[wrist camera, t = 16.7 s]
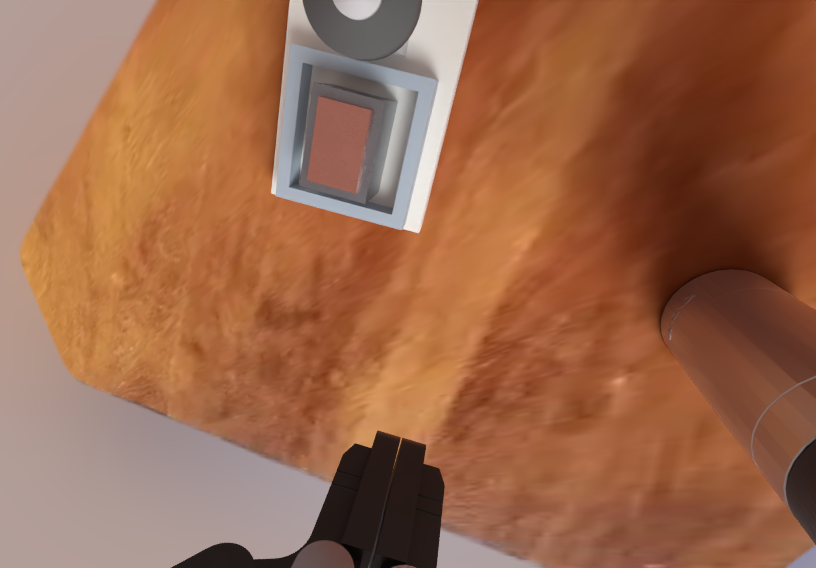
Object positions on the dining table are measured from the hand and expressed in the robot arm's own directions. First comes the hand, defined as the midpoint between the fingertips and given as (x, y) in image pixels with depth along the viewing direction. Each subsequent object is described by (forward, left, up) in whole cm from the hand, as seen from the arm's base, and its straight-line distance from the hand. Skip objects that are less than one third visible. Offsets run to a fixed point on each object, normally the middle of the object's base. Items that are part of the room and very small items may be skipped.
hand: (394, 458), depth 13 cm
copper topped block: (+9, -5, -25) cm, 27 cm away
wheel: (+9, -14, -25) cm, 30 cm away
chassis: (+9, -8, -27) cm, 30 cm away
